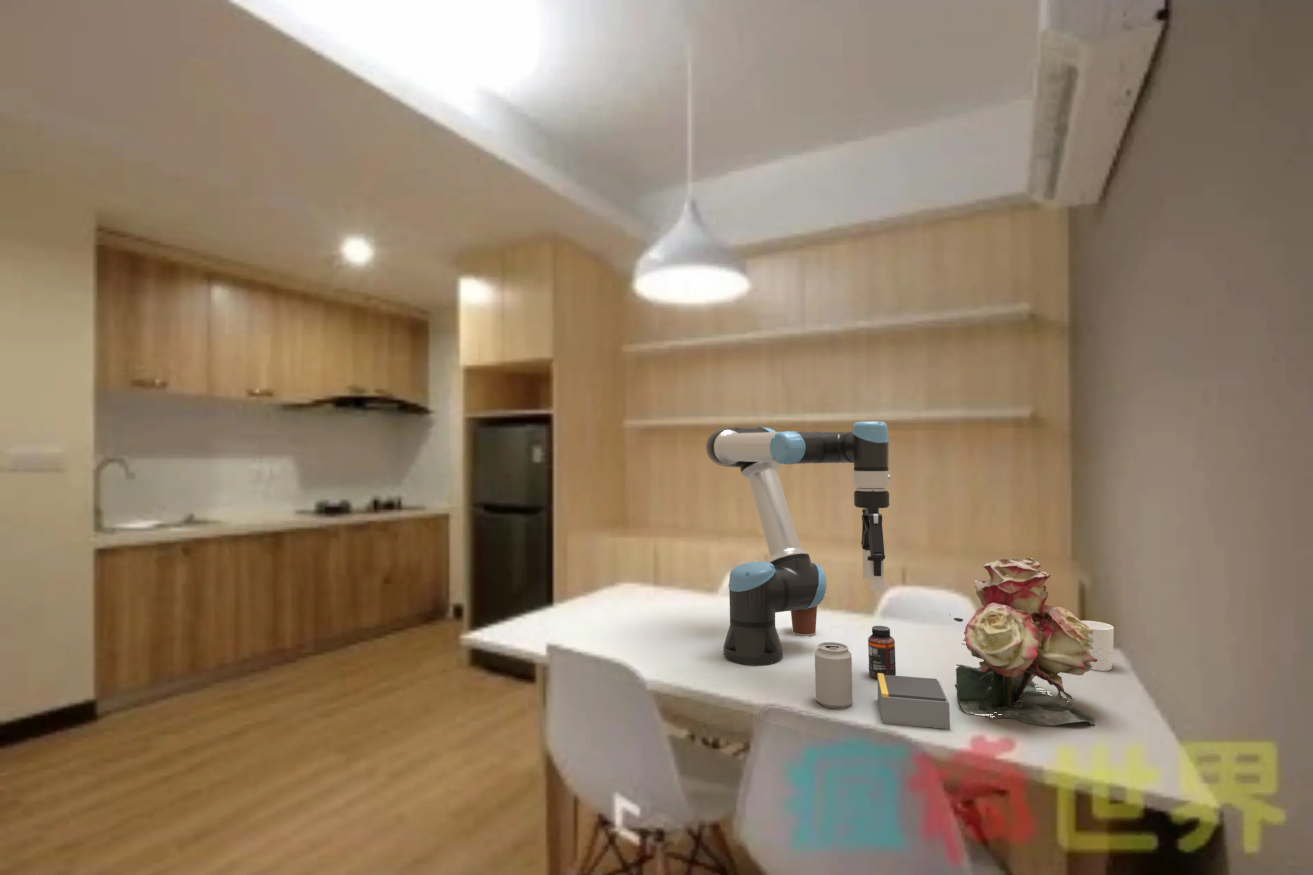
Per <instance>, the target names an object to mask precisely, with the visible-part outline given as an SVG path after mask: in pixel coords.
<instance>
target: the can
mask: <svg viewBox="0 0 1313 875" xmlns="http://www.w3.org/2000/svg"><path fill="white" fill-rule="evenodd" d="M817 647H818V648H816V650H815V651H814V673H815V674H814V681H815V683H814V684H815V685H814V686H815V688H814V689H815V699H816V701H817V702H818V703H819V704H820V705H821V706H822V707H826V708H829V709H835V710H836V709H838V710H839V709H840V710H841V709H844V708H848V706H849V705H851V704H852V703H853V661H852V660H853V659H852V658H853V656H852V655H853V654H852V653H851V652H850V651H849V646H848V645H847V644H845V643H841V642H837V641H825V642H824V641H823V642H820V643H818V644H817Z"/></svg>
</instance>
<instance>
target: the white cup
mask: <svg viewBox="0 0 1313 875" xmlns="http://www.w3.org/2000/svg"><path fill="white" fill-rule="evenodd" d="M1080 621H1081V622H1082V623H1084V624H1085V625H1086V626H1088V627H1090V629H1091V630H1092V631H1093V633H1092V634H1088V635H1089V636H1088V637H1089V638H1091V639H1093V640H1094V642H1093V643H1091V642H1088V643H1089V644H1090V645H1091V646H1092V647H1093V648H1094V649H1088V650H1089V653H1090V655H1091V656H1092V657H1093V658H1095V659H1098V661H1097V662H1093V661H1092V662H1090V664H1091V665H1092V666H1093V667H1091V669H1090V670H1093V671H1097V672H1098V671H1100V672H1108V671H1111V670H1113V657H1114V633H1115V632H1114V631H1115V628H1114V626H1113V625H1111V624H1109V623H1105V622H1101V621H1093V620H1080Z"/></svg>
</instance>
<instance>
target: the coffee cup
mask: <svg viewBox="0 0 1313 875" xmlns="http://www.w3.org/2000/svg"><path fill="white" fill-rule="evenodd" d="M817 614H818V605H817V606H815V607H811V608H807V609H805V610H802V609H799V610H792V611H790V616H791V625H792V626H791V627H792V634H793V635H794V634H795V635H794V636H798V637H804V636H808V637H814V636H816V631H817V630H816V629H817V628H816V627H817Z"/></svg>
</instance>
